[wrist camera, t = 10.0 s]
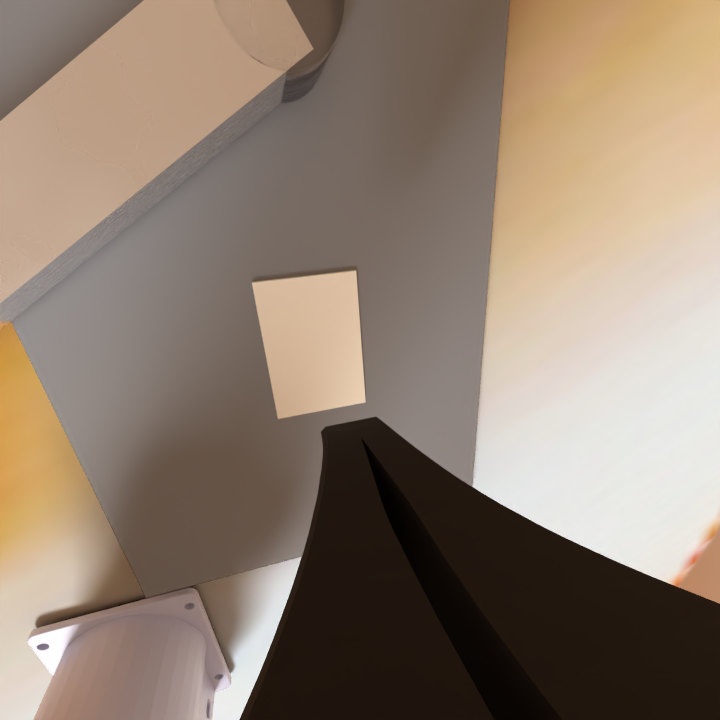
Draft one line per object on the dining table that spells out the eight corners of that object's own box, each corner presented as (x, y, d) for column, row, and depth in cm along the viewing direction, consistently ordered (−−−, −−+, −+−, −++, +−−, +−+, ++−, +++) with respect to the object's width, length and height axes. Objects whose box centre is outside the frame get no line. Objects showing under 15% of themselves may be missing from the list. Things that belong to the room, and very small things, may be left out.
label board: (461, 499, 22) (472, 514, 21) (151, 579, 19) (144, 602, 18) (494, -12, 13) (515, -32, 12) (-136, -41, 9) (-189, -73, 8)
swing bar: (282, -50, 10) (288, -145, 7) (343, 64, 11) (368, 20, 9) (-201, 350, 11) (-353, 397, 8) (-89, 413, 12) (-189, 471, 9)
